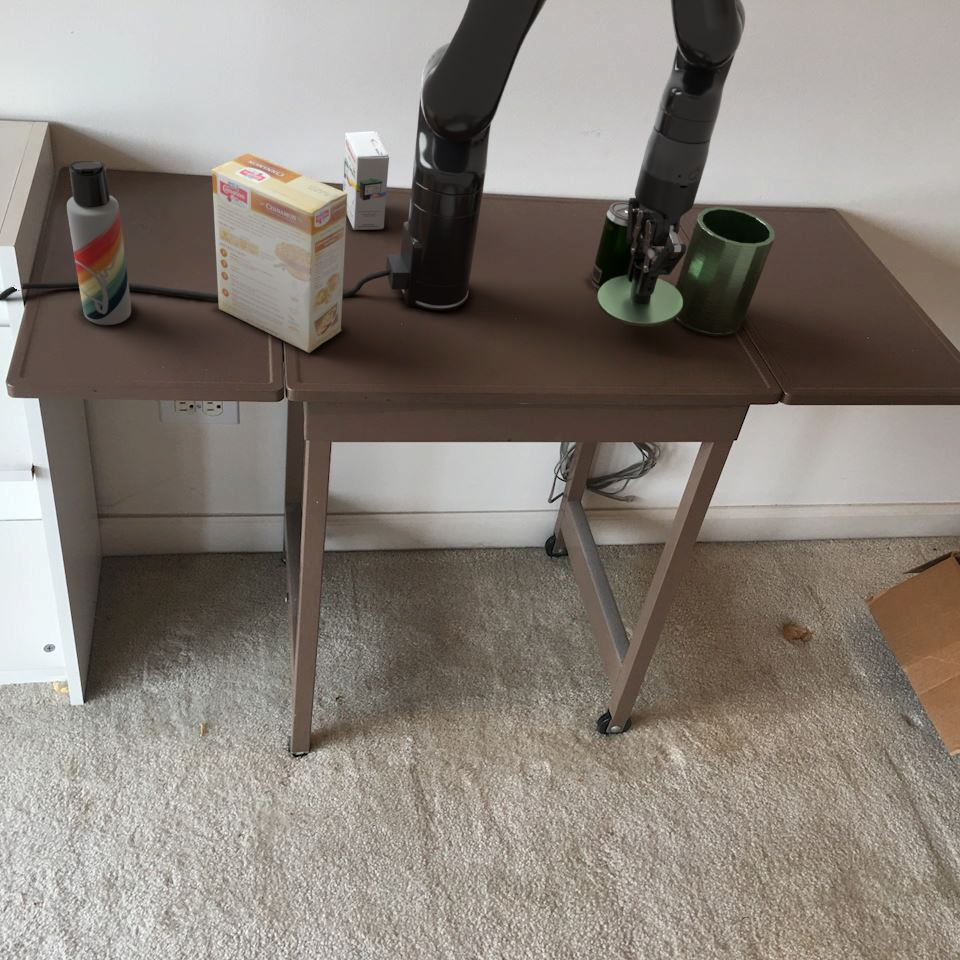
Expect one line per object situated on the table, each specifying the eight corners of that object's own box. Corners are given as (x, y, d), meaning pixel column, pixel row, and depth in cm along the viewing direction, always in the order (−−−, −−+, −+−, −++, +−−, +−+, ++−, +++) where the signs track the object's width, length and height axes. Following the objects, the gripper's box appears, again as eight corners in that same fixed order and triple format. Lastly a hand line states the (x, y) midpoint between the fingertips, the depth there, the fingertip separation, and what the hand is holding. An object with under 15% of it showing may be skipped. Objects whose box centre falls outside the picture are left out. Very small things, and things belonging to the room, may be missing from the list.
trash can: (701, 342, 137) (733, 251, 127) (655, 302, 143) (682, 212, 134) (755, 328, 142) (790, 239, 132) (708, 290, 148) (738, 202, 138)
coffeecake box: (342, 330, 127) (350, 192, 114) (308, 355, 122) (312, 213, 109) (253, 287, 132) (249, 149, 118) (216, 309, 127) (209, 168, 114)
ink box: (340, 203, 152) (344, 129, 144) (371, 202, 154) (376, 130, 146) (352, 230, 146) (356, 156, 138) (384, 229, 148) (390, 155, 140)
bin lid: (631, 340, 128) (637, 297, 124) (580, 296, 135) (584, 255, 131) (699, 313, 133) (707, 272, 128) (646, 273, 140) (652, 232, 135)
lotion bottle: (83, 327, 120) (58, 174, 107) (84, 301, 124) (60, 151, 111) (132, 325, 122) (113, 175, 108) (131, 300, 126) (113, 152, 112)
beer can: (605, 297, 142) (624, 222, 134) (583, 278, 146) (600, 204, 137) (632, 290, 145) (653, 216, 137) (610, 271, 148) (629, 199, 140)
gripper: (623, 141, 124) (595, 261, 136) (668, 194, 114) (633, 318, 126) (676, 141, 126) (644, 259, 138) (724, 193, 117) (685, 315, 128)
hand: (639, 286), depth 132 cm, fingers closed on bin lid, 3 cm apart
